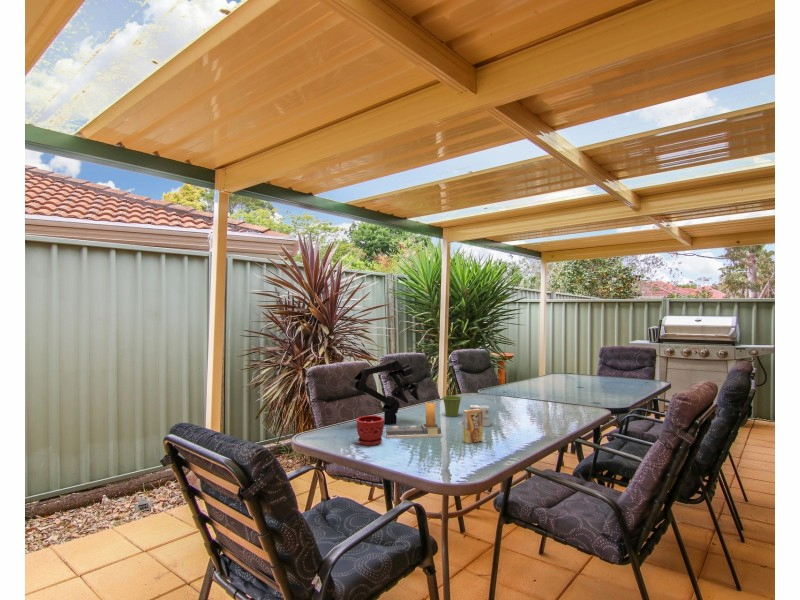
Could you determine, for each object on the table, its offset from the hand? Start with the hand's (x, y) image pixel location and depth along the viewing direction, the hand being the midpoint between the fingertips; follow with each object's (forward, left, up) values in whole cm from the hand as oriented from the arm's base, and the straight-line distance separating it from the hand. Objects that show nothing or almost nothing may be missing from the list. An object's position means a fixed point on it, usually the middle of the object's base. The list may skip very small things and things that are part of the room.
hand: (413, 401), depth 254 cm
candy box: (+24, -35, -14) cm, 45 cm away
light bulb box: (+37, -2, -14) cm, 40 cm away
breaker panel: (-3, -19, -14) cm, 24 cm away
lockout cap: (+6, -19, -10) cm, 23 cm away
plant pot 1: (-26, -32, -14) cm, 43 cm away
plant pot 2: (+27, +24, -14) cm, 39 cm away
